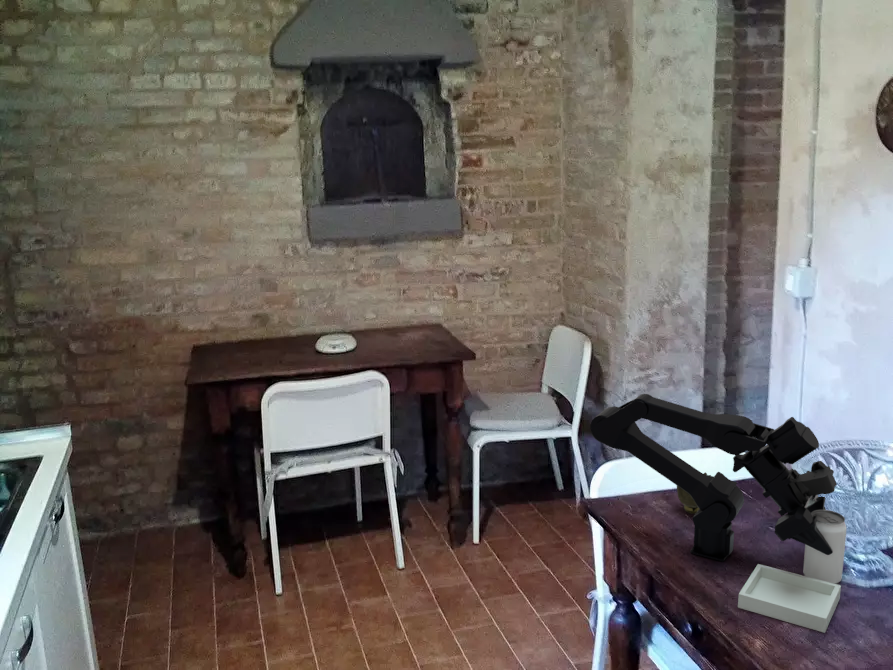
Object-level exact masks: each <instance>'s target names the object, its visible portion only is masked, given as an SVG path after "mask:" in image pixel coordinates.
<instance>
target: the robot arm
mask: <svg viewBox="0 0 893 670" xmlns="http://www.w3.org/2000/svg"><path fill="white" fill-rule="evenodd" d="M642 419H644V420H647V421H650V422H653V423H657V424H660V425H663V426H666V427H670V428H673V429H676V430H678V431H682V432H686V433H688V434H692V435H694V436H697V437H700V438H702V439H704V440H706V441H707V442H708V443H709V444H710V445H712V446H713V447H715V448H716V449H719V450H721V451H723V452H725V453H727V454H729V455H731V456H733V458H732V459H733V460H732V461H733V468H732V472H734V473H737V472H738V471H740V470H741V469H742V468H744V469H746V471H747V472H748V473H749V474H750V476H751V477H752V478H754V480H755V481H756V482H757V483H758V484H759V486H760V487H761V488H762V489H763V492H762V496H763V497H765V499H767V498H768V497H770V498H771V500H773V502H774V503H775V504H776V506H778V508H779V509H778V511H777V513H778V514H779V515H780V517H779V518H778V519H777V521H776V524H775V525H774V534H775V535H776V536H777V537H778V539H779V540H780V541H781V542H785V541H787V540H794V541H796V542H799V543H801V544H804V545H805V544H806V545H808V546H810V547H812V548H814V549H816V550H818V551H820V552H822V553H824V554H826V555H830V554H832V553H833V551H832V549H831V547H830V546H829V544H828V543H827V541H826V540H825V538H824V537H823V535H822V534H821V532H820V531H819V530H818V528H817V526H816V523H817V515H816V516H814V517H812V515H811V512H813V511H815V510H827V509H826V507H825V505H826V498H825V497H818V496H820V495H822V494H826V495H830V494H832V493H834V492H835V488H836V486H837V481H836V479H835V477H834V473H835V472H834V470H833V469H832V468H831V467H830V465H829V466H828V465H826V464H825V463H824V462H823V461H822V460H818V461H814V462H813V463H812V464H811V469H810V470H807V471H806V472H804V473H800V472H798V471H797V470H796V469H793V468H791V469H789V468H788V467H787V466H786V465H787V464H789V465H794V464H795V463H796V462H798V461H800V460H802V459H803V458H804V457H806V456H808V455H809V454H810V453H812V452H815V450H817V449H818V448H820V442H819V440H818V438H817V435H815V433H814V432H813V430H811V428H810V427H809V426H806V425H805V424H804V423H802V422H801V421H798V420H796V418H794V416H791V417H789V418H788V419H786V420H785V422H784V423H783V424H781V425H780V426H778V427H777V428H771V427H770V426H769V427H768V426H764V425H761V424H758V423H754V422H753V420H751V419H750V418H749V417H746V416H743V415H736V414H730V413H720V414H719V413H716V414H713V413H708V412H704V411H701V410H697V409H694V408H690V407H687V406H684V405H680V404H678V403H674V402H671V401H667V400H665V399H660V398H658V397H654V396H652V395H651V394H648V393H642V394H640V395H638V396H637V397H635V398H634V399H631V400H630V401H628V402H626V403H624V404H622V405H621V406H610V407H607V408H605V409H604V410H602V411H601V412H600V413H599V414H597V415H596V416H595V417H593V419H592V420H591V423H590V432H591V436H592V438H594V439H595V440H596V441H597V442H599V443H601V444H603V445H605V446H607V447H610V448H611V449H615V450H619V451H624V452H628V453H630V454H631V455H632V456H633V457H635V458H637V459H638V460H639V461H641V462H642V463H643V464H645V465H647V466H648V467H650V468H651V469H652V470H654V471H655V472H657V473H658V474H660V475H661V476H663V477H664V478H665V479H667V480H669V481H670V482H671V483H673V484H674V485H675V486H676V487H677V486H679V487H680V488H681V489H683V490H684V491H686V492H687V493H689V494H690V495H691V497H692V498H693V500H694V501H695V503H696V504H697V506H698V508H699V510H698V511H697V512H696V514H694V515H693V517H692V518H691V519H692V522H693V525H694V530H693V531H694V533H693V545H692V546H693V547H691V549H690V551H689V552H690V554H692V555H696V556H699V557H700V556H701V557H704V558H706V559H707V558H708V559H711V560H715V561H718V562H724V561H725V560H726V559H727V558H728V557H729V556H730V555H731V554H732V552H733V551H734V540H735V531H734V530H732V527H733V525H732V524H733V521H734V520H735V519H736V517H737V516H738V514H739V512H740V510H741V509H742V508H743V505H744V503H745V497H744V493H743V491H742V490H741V488H739V486H738V482H737V481H733V480H731V479H729V478H728V477H727V476H726V475H724V473H721V472H720V471H717V472H716V474H714V476H712V475H711V476H709V474H707V475H705V474H703V472H701V471H700V470H698V469H696V468H695V467H694V466H692V465H691V464H689V463H687V462H686V461H685V460H683V458H680V457H678V455H676V454H674V453H673V452H672V451H670V450H668V449H667V448H665V447H664V445H661V444H659V443H658V442H657V441H655V440H654V439H652V438H651V437H650V436H648V435H647V434H645V433H643V432H642V431H641V429H640V427H639V426H638V424H637V423H636V422H637V421H640V420H642Z"/></svg>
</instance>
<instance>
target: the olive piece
mask: <svg viewBox="0 0 893 670" xmlns="http://www.w3.org/2000/svg"><path fill="white" fill-rule="evenodd" d="M702 473H703V472H702ZM703 474H705V475H709V474H708V473H707V472H704V473H703ZM709 476H712V475H711V474H710V475H709ZM676 490H677V493H676V494H677V497H678V499H679V502H680V503H681V504H682V505H683V509H684V511H685V512H686V513H688V514H692V515H693V514H694V515H695V514H696V512H697V511H698V510H699V508H698V506H697V504H696V503H695V501H694V500H693V498H692V497H691V495H690V494H689V493H687V492H686V491H684V490H683V489H681V488H680V487H679V486H677V485H676Z"/></svg>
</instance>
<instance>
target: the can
mask: <svg viewBox="0 0 893 670" xmlns="http://www.w3.org/2000/svg"><path fill="white" fill-rule="evenodd" d="M811 515H812V517H814V516H816V515H817V523H816V526H817V528H818V530H819V531H820V532H821V534H822V535H823V537H824V538H825V540H826V541H827V543H828V544H829V546H830V547H831V549H832V551H833V553H832V554H830V555H826V554H824V553H822V552H820V551H818V550H816V549H814V548H812V547H810V546H808V545H806V544H804V557H803V558H804V559H803V576H807V577H810V578H814V579H818V580H822V581H826V582H830V583H833V584H837V585H838V584H839V583H840V582H841V581H842V577H843V571H844V570H843V569H844V558H845V549H846V539H847V538H846V537H847V525H846V522H845V521H846V518H845V517H844V515H842V514H841V513H838V512H837V511H833V510H831V509H826V510H815V511H813V512H811Z"/></svg>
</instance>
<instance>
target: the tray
mask: <svg viewBox="0 0 893 670" xmlns="http://www.w3.org/2000/svg"><path fill="white" fill-rule="evenodd" d="M841 589H842V585H840V584H838V583H837V584H833V583H830V582H826V581H822V580H818V579H814V578H810V577H807V576H805V575H804V574H803V575H802V574H798V573H794V572H790V571H787V570H783V569H780V568H777V567H776V568H775V567H773V566H767V565H765V564H759V563H757V565H756V567H755V568H754V570H753V571H752V572H751V574H750V576H749V577H748V579H747V580H746V582H745V584H744V585H743V586H742V588H741V589H740V591H739V593H738V597H737V599H738V600H737V602H738V603H737V608H738V609H741V610H745V611H748V612H752V613H756V614H759V615H762V616H766V617H769V618H772V619H777V620H780V621H783V622H787V623H790V624H793V625H796V626H800V627H802V628H803V627H804V628H807V629H811V630H814V631H818V632H820V633H824V634H825V633H826V631H827V630H828V626H829V624H830V622H831V620H832V617H833V616H834V613H835V610H836V608H837V606H838V603H839V601H840V599H841Z"/></svg>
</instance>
